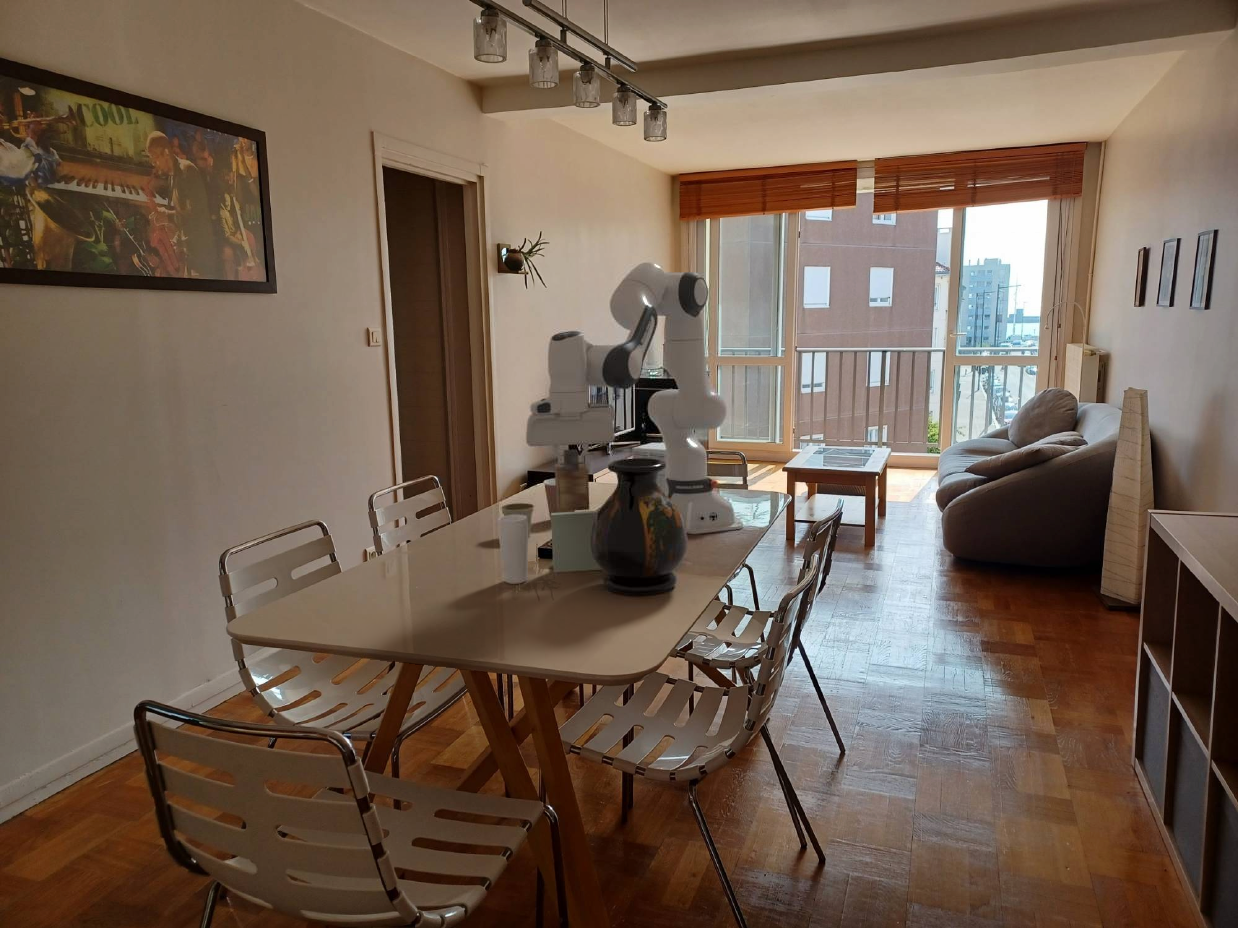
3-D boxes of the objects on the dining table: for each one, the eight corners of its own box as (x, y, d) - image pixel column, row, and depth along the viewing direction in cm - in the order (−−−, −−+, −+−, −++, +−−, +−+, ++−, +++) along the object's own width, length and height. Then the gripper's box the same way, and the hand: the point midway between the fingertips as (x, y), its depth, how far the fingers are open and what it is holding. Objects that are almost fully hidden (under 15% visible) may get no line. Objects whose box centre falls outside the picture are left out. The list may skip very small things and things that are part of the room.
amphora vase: (672, 605, 177) (669, 472, 172) (576, 596, 185) (571, 469, 180) (699, 575, 197) (697, 455, 192) (612, 568, 204) (608, 453, 200)
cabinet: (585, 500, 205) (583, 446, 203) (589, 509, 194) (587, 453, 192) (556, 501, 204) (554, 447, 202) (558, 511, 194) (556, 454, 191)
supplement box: (667, 503, 276) (666, 449, 273) (632, 499, 283) (631, 447, 280) (686, 495, 287) (686, 444, 284) (653, 492, 294) (652, 442, 291)
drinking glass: (535, 577, 199) (532, 515, 197) (522, 586, 193) (519, 521, 190) (509, 575, 201) (505, 513, 199) (496, 584, 195) (492, 520, 192)
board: (617, 561, 211) (615, 505, 208) (620, 568, 205) (618, 511, 202) (552, 565, 209) (550, 509, 206) (553, 572, 203) (551, 514, 201)
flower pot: (539, 532, 242) (537, 502, 241) (532, 540, 233) (530, 510, 232) (506, 532, 243) (504, 502, 242) (498, 541, 234) (497, 510, 233)
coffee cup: (586, 518, 258) (584, 479, 256) (566, 525, 249) (564, 485, 247) (558, 515, 263) (557, 476, 261) (538, 522, 255) (536, 482, 253)
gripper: (612, 401, 198) (614, 459, 200) (524, 404, 196) (527, 463, 198) (616, 403, 192) (617, 463, 194) (524, 406, 190) (527, 468, 192)
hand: (571, 463), depth 196 cm, fingers closed on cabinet, 3 cm apart
